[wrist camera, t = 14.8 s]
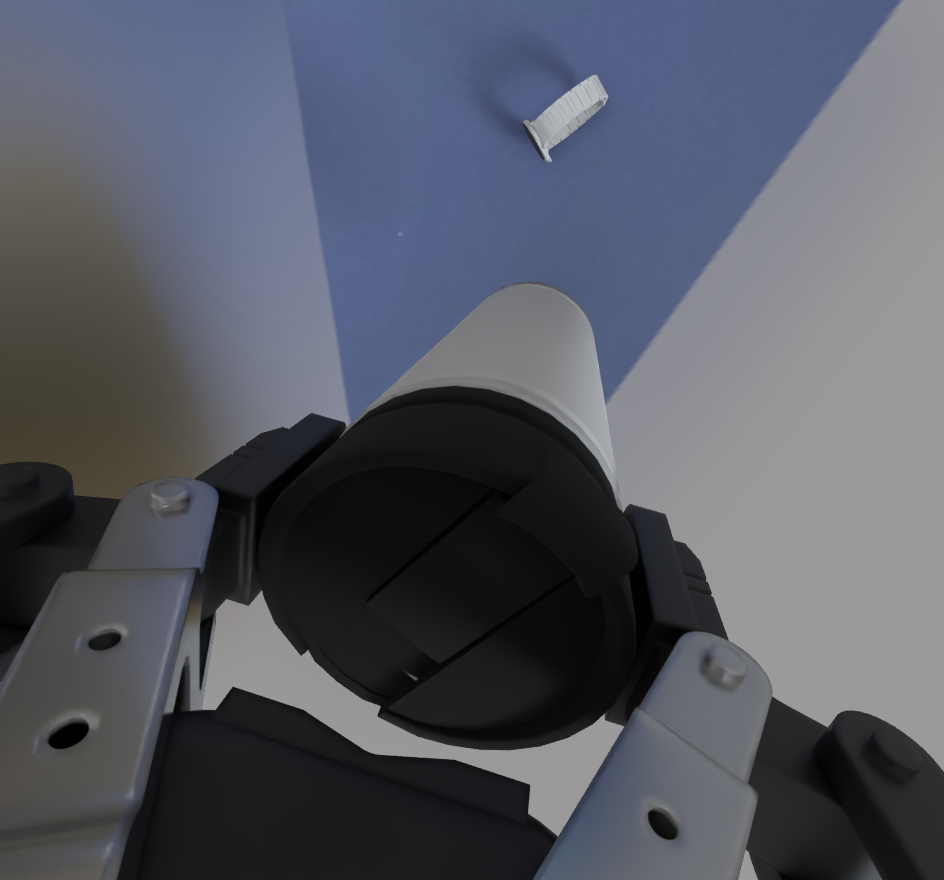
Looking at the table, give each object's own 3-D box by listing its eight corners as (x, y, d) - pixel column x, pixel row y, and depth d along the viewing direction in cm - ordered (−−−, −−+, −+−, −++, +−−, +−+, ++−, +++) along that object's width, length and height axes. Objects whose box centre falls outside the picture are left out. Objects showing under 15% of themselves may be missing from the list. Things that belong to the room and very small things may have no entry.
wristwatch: (524, 130, 36) (517, 116, 31) (589, 76, 34) (592, 54, 29) (547, 169, 36) (543, 161, 32) (612, 118, 34) (618, 102, 30)
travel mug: (627, 341, 25) (771, 672, 7) (529, 431, 28) (442, 843, 9) (533, 245, 24) (407, 332, 6) (440, 348, 27) (156, 625, 9)
